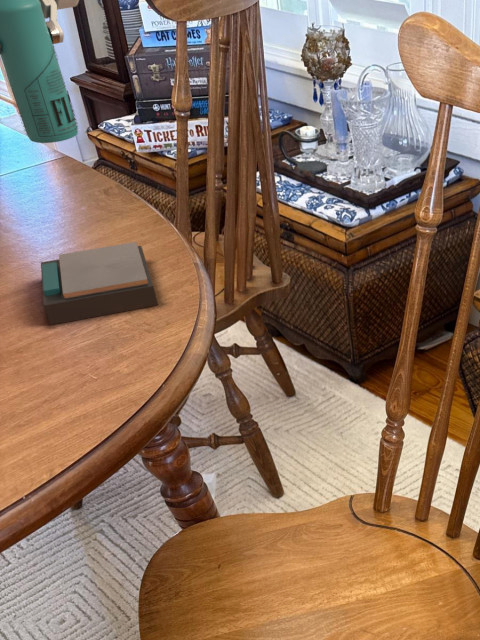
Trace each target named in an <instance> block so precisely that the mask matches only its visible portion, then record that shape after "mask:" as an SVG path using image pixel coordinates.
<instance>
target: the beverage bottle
mask: <svg viewBox="0 0 480 640" xmlns="http://www.w3.org/2000/svg"><path fill="white" fill-rule="evenodd" d="M46 22H47V21H46V19H45V18H44V15H43V12H42V8H41V3H40V1H39V0H0V45H1V50H0V51H1V54H0V59H1V62H2V65H3V68H4V72H5V73H4V77H6V82H7V84H8V86H9V88H10V92H11V96H12V98H13V100H14V105H15V107H16V109H17V113H18V116H19V118H20V120H21V123H22V129H23V131H24V133H25V135H26V136H27V138H28V139H29V141H30V142H32V143H37V144H51V143H59V142H64V141H68V140H69V139H73V138H74V137H76V136H77V135H78V134H79V130H78V129H79V127H78V122H77V119H76V114H75V110H74V107H73V103H72V100H71V97H70V94H69V91H68V90H67V88H66V82H65V79H64V77H63V74H62V71H61V68H60V64H59V61H58V60H59V59H58V54H57V51H56V48H55V46H54V45H55V44H52V42H53V41H52V40H51V39H52V38H51V37H50V34H49V33H50V32H49V31H48V28H47V25H46Z"/></svg>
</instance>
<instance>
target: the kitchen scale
mask: <svg viewBox="0 0 480 640" xmlns="http://www.w3.org/2000/svg"><path fill="white" fill-rule="evenodd" d="M40 272H41V273H40V274H41V286H42V287H41V289H42V301H43V302H42V303H43V308H44V312H45V314H46V317H47V319H48V322H49V325H50V326H55V325H59V324H63V323H64V324H65V323H69V322H75V321H80V320H86V319H90V318H97V317H102V316H109V315H112V314H119V313H124V312H129V311H134V310H140V309H146V308H151V307H156V306H159V302H158V298H157V295H156V290H155V287H154V286H155V285H154V284H153V280H152V276H151V273H150V270H149V266H148V263H147V260H146V257H145V253H144V250H143V247H142V245H138V242H137V241H133V242H126V243H120V244H115V245H109V246H103V247H97V248H90V249H85V250H78V251H73V252H66V253H61V254H58V259H54V260H47V261H41V262H40Z"/></svg>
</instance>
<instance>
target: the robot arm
mask: <svg viewBox="0 0 480 640" xmlns="http://www.w3.org/2000/svg"><path fill="white" fill-rule="evenodd" d="M39 1H40V3H41V8H42V12H43V15H44V18H45V20H46V19H48V20H49V21H45V22H46V25H47V28H48V31H49V32H50V33H49V34H50V37H51V38H52V39H51V40H52V41H53V42H52V44H54V45H57V44H61V43H64V39H65V38H64V37H65V35H64V31H63V29H62V27H61V26H60V24H59V22H58V10H63V9H69V8H75V7H77V6H78V5H79V2H80V0H39ZM0 50H1V45H0ZM0 54H1V51H0Z"/></svg>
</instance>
